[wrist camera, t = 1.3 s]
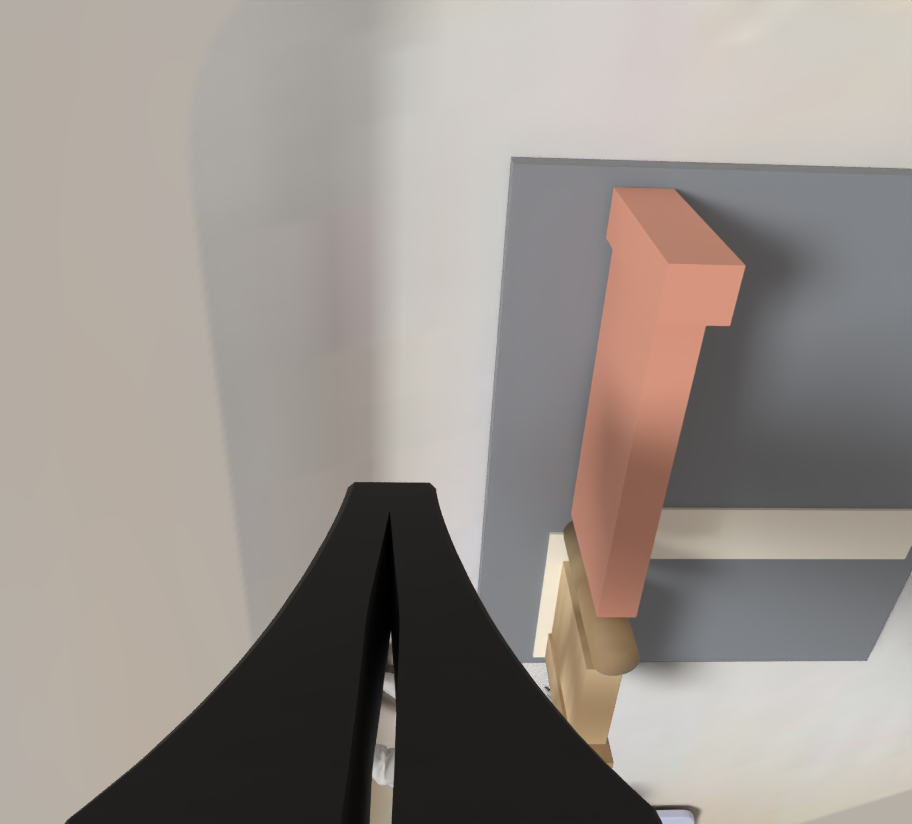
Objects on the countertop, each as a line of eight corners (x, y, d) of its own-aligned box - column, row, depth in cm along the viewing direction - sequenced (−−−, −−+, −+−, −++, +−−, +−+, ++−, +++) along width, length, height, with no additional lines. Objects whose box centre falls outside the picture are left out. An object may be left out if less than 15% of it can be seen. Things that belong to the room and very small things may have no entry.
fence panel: (610, 514, 23) (649, 636, 19) (564, 513, 23) (593, 636, 19) (673, 188, 18) (745, 265, 14) (613, 187, 17) (668, 263, 14)
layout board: (858, 647, 28) (868, 662, 27) (473, 648, 27) (474, 665, 26) (1086, 174, 19) (1108, 182, 18) (511, 157, 18) (514, 165, 17)
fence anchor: (579, 654, 26) (607, 787, 22) (544, 655, 26) (566, 787, 22) (604, 517, 23) (643, 644, 19) (565, 517, 23) (596, 644, 19)
